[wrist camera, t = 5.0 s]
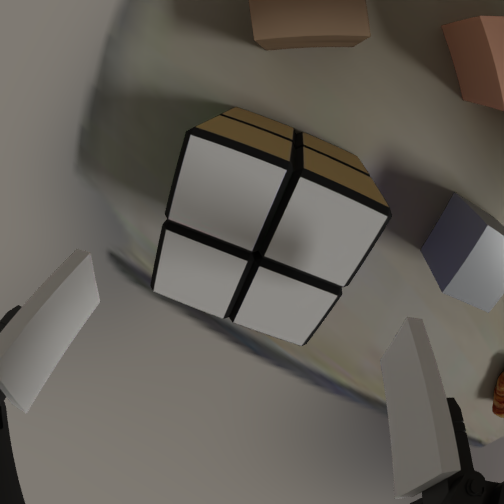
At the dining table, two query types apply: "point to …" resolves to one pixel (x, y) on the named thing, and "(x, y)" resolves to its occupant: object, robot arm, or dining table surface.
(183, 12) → the dining table surface
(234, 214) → the puzzle cube
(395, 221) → the dining table surface
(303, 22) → the walnut block
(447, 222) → the slate grey block
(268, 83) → the dining table surface
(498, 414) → the croissant
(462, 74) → the terracotta block
